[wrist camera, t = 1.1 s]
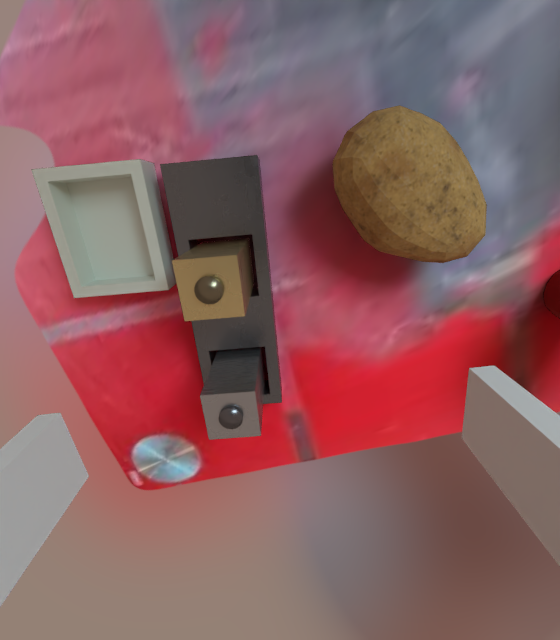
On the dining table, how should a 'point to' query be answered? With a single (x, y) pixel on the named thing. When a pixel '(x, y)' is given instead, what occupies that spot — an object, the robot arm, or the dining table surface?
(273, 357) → the rail
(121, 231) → the parts tray
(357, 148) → the potato
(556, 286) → the plastic cup
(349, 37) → the dining table surface
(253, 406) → the square rod with stud
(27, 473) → the robot arm
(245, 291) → the block with metal knob
